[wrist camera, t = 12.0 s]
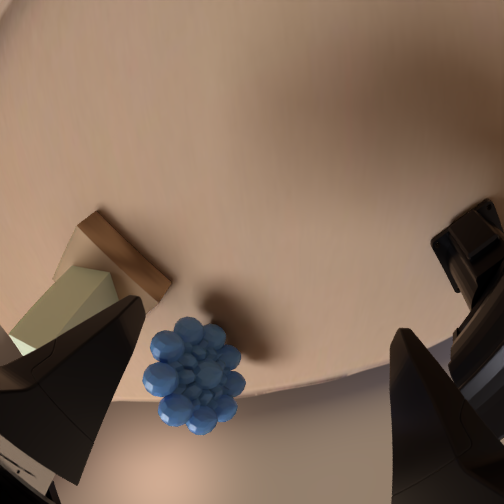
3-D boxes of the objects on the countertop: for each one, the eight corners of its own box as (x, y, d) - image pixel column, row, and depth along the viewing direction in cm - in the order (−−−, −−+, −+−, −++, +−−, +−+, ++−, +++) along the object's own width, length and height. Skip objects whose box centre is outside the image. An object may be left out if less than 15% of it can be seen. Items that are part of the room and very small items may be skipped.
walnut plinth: (171, 282, 27) (158, 303, 25) (128, 321, 32) (117, 338, 30) (96, 210, 25) (76, 225, 22) (67, 264, 30) (52, 279, 27)
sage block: (109, 272, 24) (43, 352, 16) (123, 313, 27) (72, 391, 18) (72, 265, 25) (8, 334, 17) (87, 304, 28) (35, 372, 19)
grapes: (154, 298, 29) (96, 391, 19) (203, 278, 26) (146, 389, 16) (217, 368, 33) (186, 456, 23) (266, 358, 31) (243, 459, 21)
